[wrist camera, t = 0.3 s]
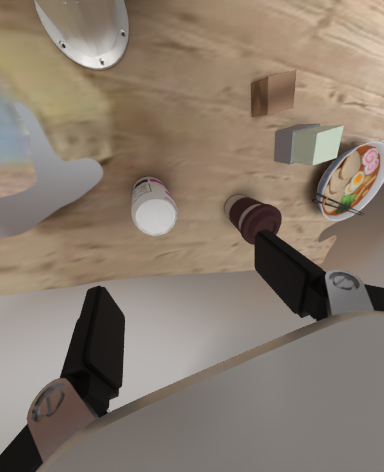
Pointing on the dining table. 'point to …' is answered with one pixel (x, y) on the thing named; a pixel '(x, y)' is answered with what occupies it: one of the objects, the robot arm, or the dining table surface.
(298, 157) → the tower mid
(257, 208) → the coffee cup
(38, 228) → the dining table surface
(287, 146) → the tower base
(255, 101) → the walnut cube
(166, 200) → the supplement can
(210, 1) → the dining table surface
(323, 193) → the ramen bowl
